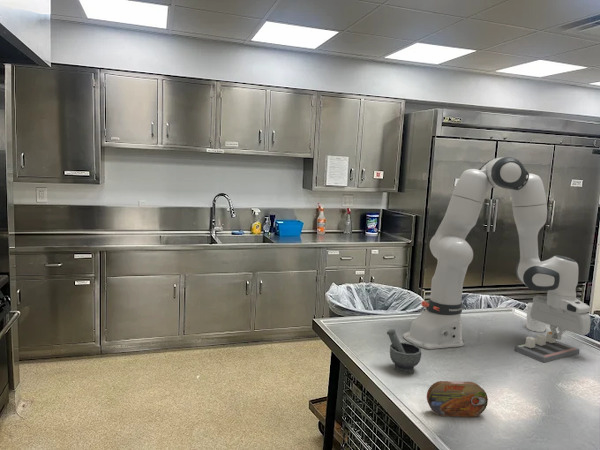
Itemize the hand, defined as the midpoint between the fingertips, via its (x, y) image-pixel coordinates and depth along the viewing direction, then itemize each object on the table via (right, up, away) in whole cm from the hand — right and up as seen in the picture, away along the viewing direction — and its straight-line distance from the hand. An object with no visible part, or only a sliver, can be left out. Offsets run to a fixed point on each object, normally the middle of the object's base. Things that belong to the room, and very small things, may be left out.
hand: (556, 338), depth 162 cm
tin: (-53, -8, -47) cm, 71 cm away
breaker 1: (-11, -2, -4) cm, 12 cm away
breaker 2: (-6, -2, -1) cm, 6 cm away
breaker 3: (-1, -2, +2) cm, 3 cm away
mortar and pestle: (-61, -4, -22) cm, 65 cm away
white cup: (+4, -2, +21) cm, 22 cm away
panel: (-5, -4, -3) cm, 7 cm away
